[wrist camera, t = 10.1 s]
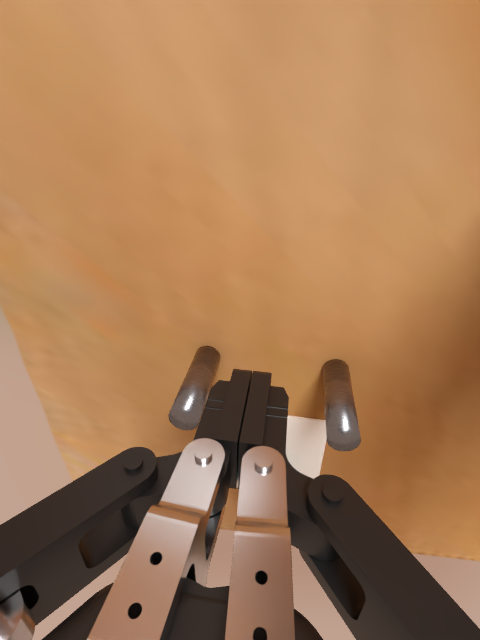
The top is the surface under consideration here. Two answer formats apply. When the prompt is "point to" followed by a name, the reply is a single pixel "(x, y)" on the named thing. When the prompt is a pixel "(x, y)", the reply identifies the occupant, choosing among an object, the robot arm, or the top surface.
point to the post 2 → (339, 407)
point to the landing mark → (305, 444)
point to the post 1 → (195, 389)
